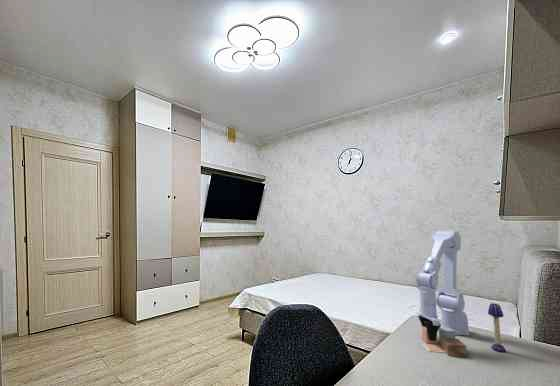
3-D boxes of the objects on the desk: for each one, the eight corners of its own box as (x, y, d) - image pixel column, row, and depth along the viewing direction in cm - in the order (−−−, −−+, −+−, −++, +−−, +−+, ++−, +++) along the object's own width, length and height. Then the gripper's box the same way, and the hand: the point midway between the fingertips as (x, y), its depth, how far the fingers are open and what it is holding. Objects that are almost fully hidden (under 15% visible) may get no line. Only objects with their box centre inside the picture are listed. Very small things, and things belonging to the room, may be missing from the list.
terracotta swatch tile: (438, 345, 103) (438, 344, 103) (445, 352, 98) (445, 351, 98) (422, 344, 104) (422, 343, 104) (428, 351, 98) (428, 350, 98)
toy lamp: (507, 354, 97) (504, 306, 99) (491, 351, 99) (488, 304, 101) (504, 348, 101) (501, 303, 103) (489, 346, 104) (486, 301, 106)
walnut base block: (458, 349, 100) (457, 338, 101) (466, 357, 95) (465, 345, 95) (441, 348, 101) (440, 337, 102) (448, 355, 96) (447, 344, 96)
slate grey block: (448, 339, 109) (447, 327, 109) (455, 344, 105) (455, 330, 105) (439, 340, 108) (438, 327, 109) (446, 344, 104) (445, 331, 105)
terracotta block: (433, 339, 108) (432, 327, 109) (437, 344, 104) (436, 330, 105) (422, 339, 109) (422, 326, 109) (426, 343, 105) (426, 330, 106)
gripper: (411, 297, 116) (412, 330, 114) (424, 307, 102) (426, 345, 100) (428, 298, 115) (430, 331, 113) (444, 308, 101) (446, 346, 99)
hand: (429, 337), depth 107 cm, fingers closed on terracotta block, 4 cm apart
